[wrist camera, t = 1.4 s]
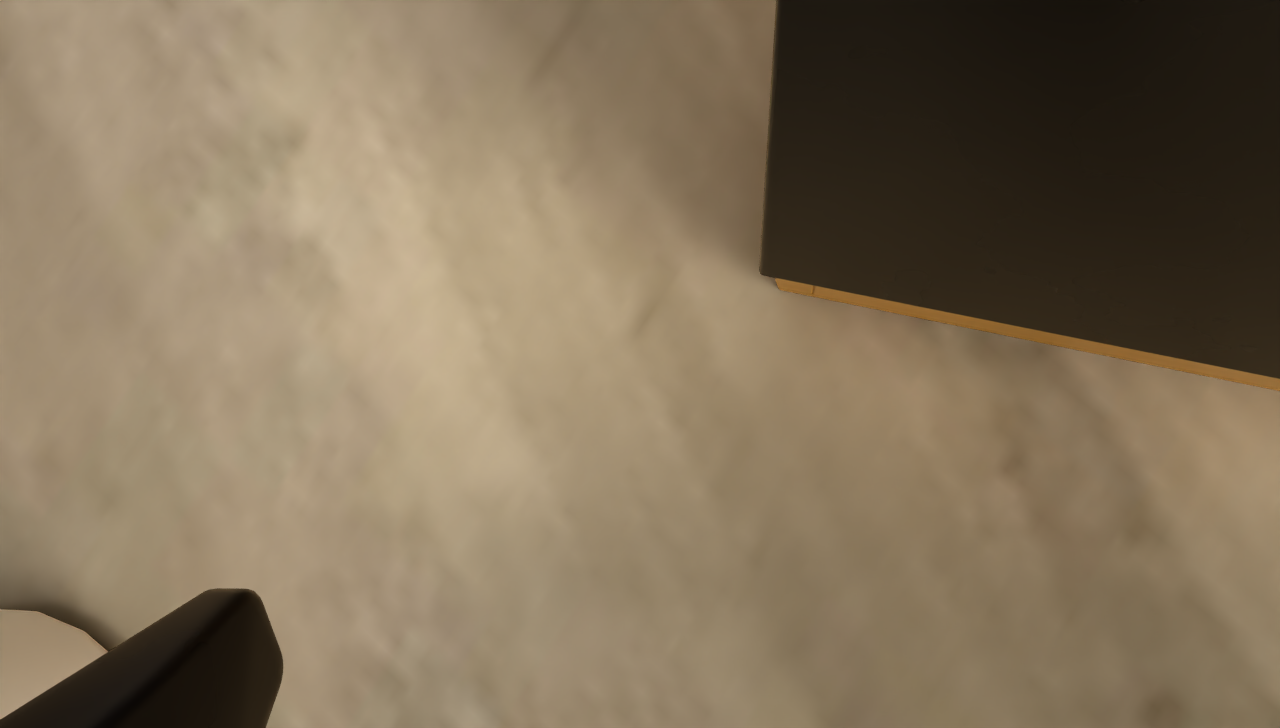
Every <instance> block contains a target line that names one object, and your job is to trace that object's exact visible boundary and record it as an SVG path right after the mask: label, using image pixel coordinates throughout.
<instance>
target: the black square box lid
mask: <svg viewBox="0 0 1280 728" xmlns="http://www.w3.org/2000/svg"><path fill="white" fill-rule="evenodd" d="M759 271H760V274H761V275H764V276H769V277H773V278H778V279H783V280H788V281H793V282H798V283H803V284H808V285H813V286H818V287H823V288H828V289H833V290H838V291H843V292H848V293H853V294H858V295H863V296H868V297H873V298H878V299H883V300H888V301H893V302H898V303H903V304H908V305H913V306H918V307H923V308H928V309H933V310H938V311H943V312H948V313H953V314H958V315H963V316H968V317H973V318H978V319H983V320H988V321H993V322H998V323H1003V324H1008V325H1013V326H1018V327H1023V328H1028V329H1033V330H1038V331H1043V332H1048V333H1053V334H1058V335H1063V336H1068V337H1073V338H1078V339H1083V340H1088V341H1093V342H1098V343H1103V344H1108V345H1113V346H1118V347H1123V348H1128V349H1133V350H1138V351H1143V352H1148V353H1153V354H1158V355H1163V356H1168V357H1173V358H1178V359H1183V360H1188V361H1193V362H1198V363H1203V364H1208V365H1213V366H1218V367H1223V368H1228V369H1233V370H1238V371H1243V372H1248V373H1253V374H1258V375H1263V376H1268V377H1273V378H1278V379H1280V0H776V14H775V30H774V45H773V61H772V77H771V93H770V109H769V124H768V140H767V156H766V172H765V188H764V203H763V219H762V235H761V251H760V267H759Z"/></svg>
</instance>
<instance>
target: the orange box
mask: <svg viewBox="0 0 1280 728" xmlns="http://www.w3.org/2000/svg"><path fill="white" fill-rule="evenodd" d="M775 280H776V283H777V286H778V289H780V290H783V291H788V292H793V293H798V294H803V295H808V296H813V297H818V298H822V299H827V300H832V301H837V302H842V303H847V304H852V305H857V306H862V307H867V308H872V309H877V310H882V311H887V312H892V313H897V314H902V315H907V316H912V317H916V318H921V319H926V320H931V321H936V322H941V323H946V324H951V325H956V326H961V327H966V328H971V329H976V330H981V331H986V332H991V333H996V334H1001V335H1005V336H1010V337H1015V338H1020V339H1025V340H1030V341H1035V342H1040V343H1045V344H1050V345H1055V346H1060V347H1065V348H1070V349H1075V350H1080V351H1085V352H1090V353H1094V354H1099V355H1104V356H1109V357H1114V358H1119V359H1124V360H1129V361H1134V362H1139V363H1144V364H1149V365H1154V366H1159V367H1164V368H1169V369H1174V370H1179V371H1184V372H1188V373H1193V374H1198V375H1203V376H1208V377H1213V378H1218V379H1223V380H1228V381H1233V382H1238V383H1243V384H1248V385H1253V386H1258V387H1263V388H1268V389H1273V390H1277V391H1280V379H1278V378H1273V377H1268V376H1263V375H1258V374H1253V373H1248V372H1243V371H1238V370H1233V369H1228V368H1223V367H1218V366H1213V365H1208V364H1203V363H1198V362H1193V361H1188V360H1183V359H1178V358H1173V357H1168V356H1163V355H1158V354H1153V353H1148V352H1143V351H1138V350H1133V349H1128V348H1123V347H1118V346H1113V345H1108V344H1103V343H1098V342H1093V341H1088V340H1083V339H1078V338H1073V337H1068V336H1063V335H1058V334H1053V333H1048V332H1043V331H1038V330H1033V329H1028V328H1023V327H1018V326H1013V325H1008V324H1003V323H998V322H993V321H988V320H983V319H978V318H973V317H968V316H963V315H958V314H953V313H948V312H943V311H938V310H933V309H928V308H923V307H918V306H913V305H908V304H903V303H898V302H893V301H888V300H883V299H878V298H873V297H868V296H863V295H858V294H853V293H848V292H843V291H838V290H833V289H828V288H823V287H818V286H813V285H808V284H803V283H798V282H793V281H788V280H783V279H778V278H775Z"/></svg>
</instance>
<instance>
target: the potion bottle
mask: <svg viewBox="0 0 1280 728" xmlns="http://www.w3.org/2000/svg"><path fill="white" fill-rule="evenodd" d="M107 652H108V651H107V650H105V649H104V648H103V647H102V646H101V645H100V644H99V643H97V642H96V641H95V640H94V639H93V638H92V637H91V636H89V635H88V634H87V633H86V632H85V631H83V630H81V629H78V628H76V627H74V626H71V625H69V624H66V623H64V622H62V621H59V620H57V619H55V618H52V617H50V616H47V615H45V614H43V613H40V612H38V611H24V610H6V609H0V719H2V718H3V717H5V716H7V715H8V714H10V713H11V712H13V711H15V710H16V709H18V708H19V707H21V706H23V705H24V704H26V703H27V702H29V701H31V700H32V699H34V698H35V697H37V696H39V695H40V694H42V693H43V692H45V691H47V690H48V689H50V688H51V687H53V686H55V685H56V684H58V683H59V682H61V681H62V680H64V679H66V678H67V677H69V676H70V675H72V674H74V673H75V672H77V671H78V670H80V669H82V668H83V667H85V666H86V665H88V664H90V663H91V662H93V661H94V660H96V659H98V658H99V657H101V656H102V655H104V654H106V653H107Z"/></svg>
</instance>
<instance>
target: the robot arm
mask: <svg viewBox="0 0 1280 728" xmlns="http://www.w3.org/2000/svg"><path fill="white" fill-rule="evenodd" d="M282 675H283V659H282V654H281V651H280V648H279V645H278V642H277V640H276V637H275V634H274V632H273V629H272V626H271V624H270V621H269V618H268V616H267V613H266V610H265V608H264V605H263V602H262V600H261V598H260V597H259V596H258V595H257V594H256V593H255V592H254V591H252V590H249V589H221V588H217V589H210V590H207V591H205V592H203V593H201V594H200V595H198V596H197V597H195V598H193V599H192V600H190V601H189V602H187V603H185V604H184V605H182V606H181V607H179V608H177V609H176V610H174V611H173V612H171V613H169V614H168V615H166V616H165V617H163V618H161V619H160V620H158V621H157V622H155V623H153V624H152V625H150V626H149V627H147V628H145V629H144V630H142V631H141V632H139V633H137V634H136V635H134V636H133V637H131V638H130V639H128V640H126V641H125V642H123V643H122V644H120V645H118V646H117V647H115V648H114V649H112V650H110V651H109V652H107V653H106V654H104V655H102V656H101V657H99V658H98V659H96V660H94V661H93V662H91V663H90V664H88V665H86V666H85V667H83V668H82V669H80V670H78V671H77V672H75V673H74V674H72V675H70V676H69V677H67V678H66V679H64V680H62V681H61V682H59V683H58V684H56V685H55V686H53V687H51V688H50V689H48V690H47V691H45V692H43V693H42V694H40V695H39V696H37V697H35V698H34V699H32V700H31V701H29V702H27V703H26V704H24V705H23V706H21V707H19V708H18V709H16V710H15V711H13V712H11V713H10V714H8V715H7V716H5V717H3V718H2V719H0V728H266V725H267V722H268V719H269V716H270V714H271V711H272V708H273V705H274V702H275V699H276V696H277V693H278V690H279V687H280V684H281V680H282Z"/></svg>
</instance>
